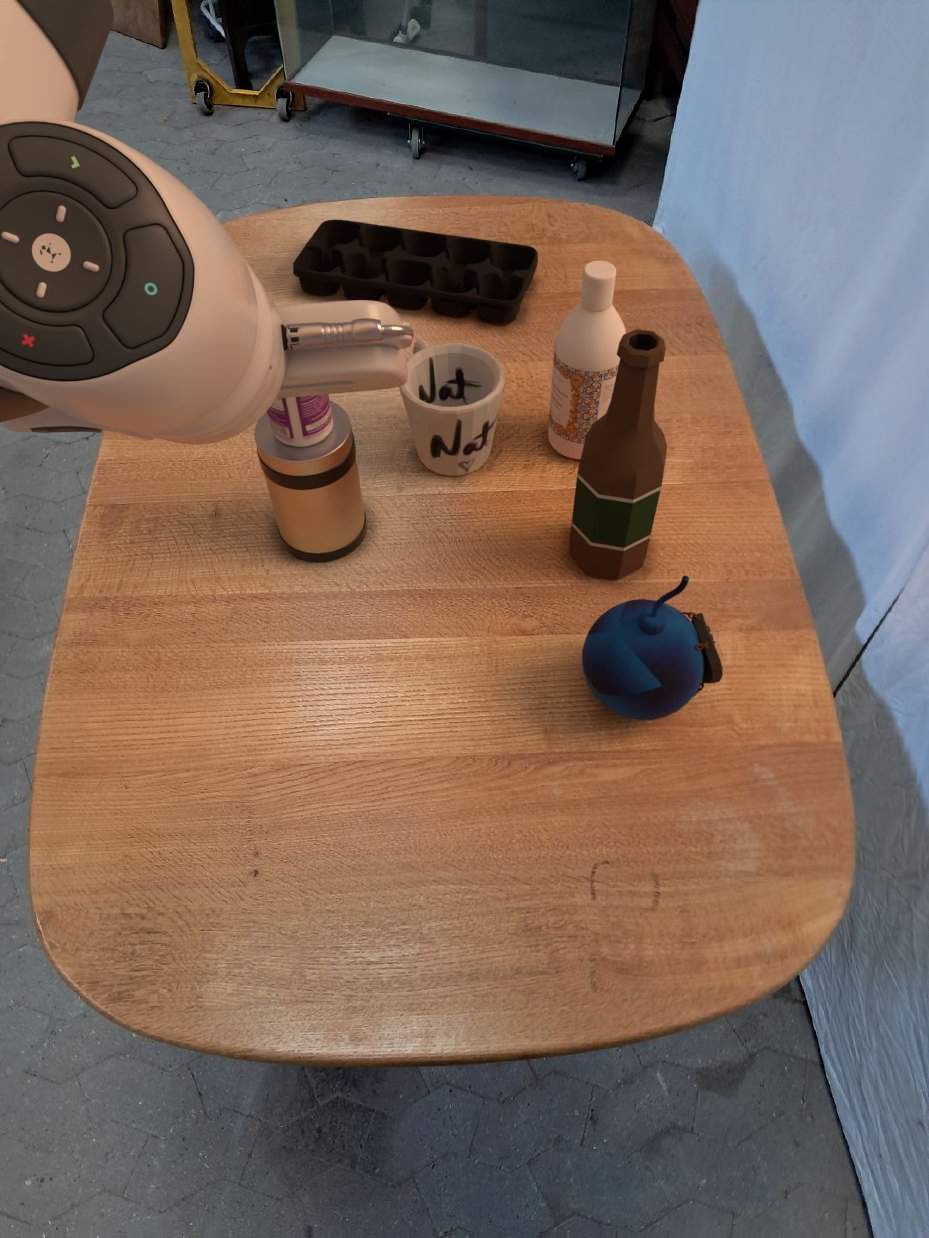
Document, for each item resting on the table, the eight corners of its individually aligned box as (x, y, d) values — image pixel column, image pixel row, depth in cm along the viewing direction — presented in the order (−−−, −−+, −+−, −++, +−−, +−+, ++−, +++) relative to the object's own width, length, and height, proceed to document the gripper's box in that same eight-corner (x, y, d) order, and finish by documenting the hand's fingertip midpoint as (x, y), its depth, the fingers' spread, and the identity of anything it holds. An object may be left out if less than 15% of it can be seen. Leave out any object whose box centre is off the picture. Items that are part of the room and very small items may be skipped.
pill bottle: (331, 404, 81) (315, 310, 73) (336, 444, 78) (320, 350, 70) (270, 412, 80) (247, 318, 72) (273, 453, 77) (249, 359, 69)
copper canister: (294, 573, 86) (268, 474, 76) (269, 513, 91) (241, 411, 80) (379, 545, 88) (365, 445, 77) (350, 487, 93) (333, 385, 82)
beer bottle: (593, 510, 90) (623, 297, 71) (662, 544, 87) (714, 332, 68) (551, 558, 87) (571, 348, 67) (622, 595, 84) (664, 387, 64)
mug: (427, 499, 91) (422, 423, 83) (375, 410, 100) (365, 333, 92) (520, 468, 94) (524, 391, 86) (462, 384, 102) (460, 307, 94)
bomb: (720, 731, 75) (766, 624, 63) (592, 749, 74) (613, 644, 62) (685, 636, 81) (721, 521, 69) (566, 652, 80) (581, 539, 68)
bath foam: (536, 429, 97) (546, 259, 81) (592, 410, 99) (613, 240, 83) (567, 470, 94) (584, 300, 78) (625, 449, 95) (654, 279, 79)
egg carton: (310, 243, 120) (305, 216, 117) (537, 247, 118) (539, 220, 115) (286, 323, 109) (281, 296, 106) (535, 330, 108) (537, 302, 105)
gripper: (407, 253, 41) (405, 312, 55) (-58, 288, 40) (59, 340, 53) (421, 395, 42) (416, 419, 56) (-33, 434, 41) (75, 448, 54)
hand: (238, 380), depth 54 cm, fingers open, 8 cm apart
